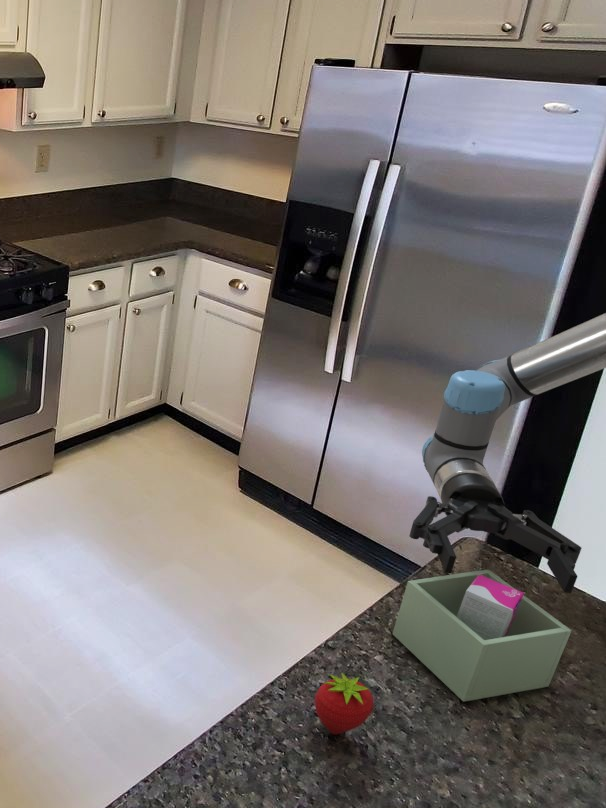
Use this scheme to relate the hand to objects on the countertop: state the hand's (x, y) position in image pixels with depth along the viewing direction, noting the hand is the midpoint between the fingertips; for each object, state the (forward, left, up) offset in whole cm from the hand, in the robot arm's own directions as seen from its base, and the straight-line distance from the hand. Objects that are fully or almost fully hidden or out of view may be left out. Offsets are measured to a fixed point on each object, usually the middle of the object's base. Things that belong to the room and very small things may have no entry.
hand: (509, 574), depth 104 cm
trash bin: (-2, -3, -17) cm, 18 cm away
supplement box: (-2, -3, -17) cm, 17 cm away
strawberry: (+25, +5, -17) cm, 31 cm away
